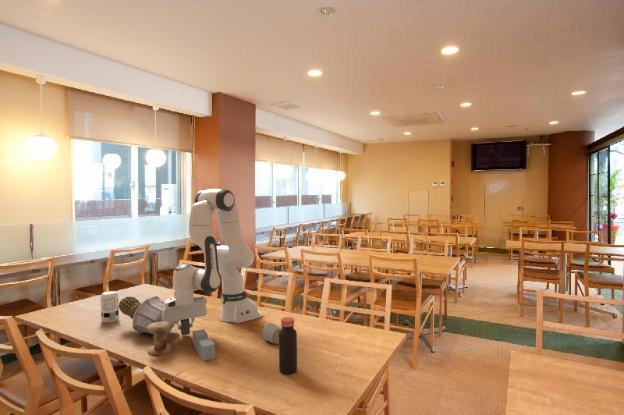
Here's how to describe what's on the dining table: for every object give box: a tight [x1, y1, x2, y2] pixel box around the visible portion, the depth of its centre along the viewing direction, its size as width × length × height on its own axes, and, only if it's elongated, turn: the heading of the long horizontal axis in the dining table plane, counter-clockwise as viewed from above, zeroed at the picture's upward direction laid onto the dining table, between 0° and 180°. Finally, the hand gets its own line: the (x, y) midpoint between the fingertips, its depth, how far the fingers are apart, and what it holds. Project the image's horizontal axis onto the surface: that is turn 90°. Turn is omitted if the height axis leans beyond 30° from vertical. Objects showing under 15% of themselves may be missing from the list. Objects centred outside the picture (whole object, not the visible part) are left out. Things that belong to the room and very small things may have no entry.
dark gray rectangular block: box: [179, 319, 191, 336], centre depth 180 cm, size 4×4×7 cm
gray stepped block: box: [192, 328, 216, 362], centre depth 163 cm, size 5×19×6 cm, turn 29°
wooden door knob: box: [147, 321, 174, 356], centre depth 164 cm, size 10×10×11 cm
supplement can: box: [100, 290, 120, 324], centre depth 201 cm, size 8×8×15 cm
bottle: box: [278, 316, 298, 375], centre depth 145 cm, size 7×7×20 cm
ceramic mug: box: [261, 322, 282, 345], centre depth 174 cm, size 11×8×8 cm
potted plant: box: [118, 295, 176, 336], centre depth 186 cm, size 18×18×30 cm
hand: (185, 328), depth 180 cm, fingers closed on dark gray rectangular block, 3 cm apart
